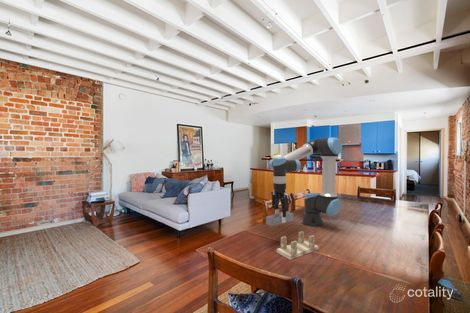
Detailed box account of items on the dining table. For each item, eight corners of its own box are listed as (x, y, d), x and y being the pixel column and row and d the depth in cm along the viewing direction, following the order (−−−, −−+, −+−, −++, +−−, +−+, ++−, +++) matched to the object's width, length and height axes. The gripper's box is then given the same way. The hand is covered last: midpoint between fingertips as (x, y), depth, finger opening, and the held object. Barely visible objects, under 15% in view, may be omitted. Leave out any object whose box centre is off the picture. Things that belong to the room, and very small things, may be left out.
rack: (304, 243, 134) (304, 230, 134) (318, 249, 126) (318, 235, 126) (276, 252, 123) (276, 238, 122) (290, 259, 114) (290, 244, 114)
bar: (287, 218, 143) (287, 211, 142) (293, 220, 139) (293, 213, 139) (266, 224, 133) (266, 216, 133) (271, 226, 129) (271, 218, 129)
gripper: (265, 181, 141) (266, 218, 141) (285, 185, 126) (286, 226, 126) (274, 180, 145) (275, 216, 145) (295, 183, 130) (295, 223, 130)
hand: (280, 221), depth 136 cm, fingers closed on bar, 4 cm apart
